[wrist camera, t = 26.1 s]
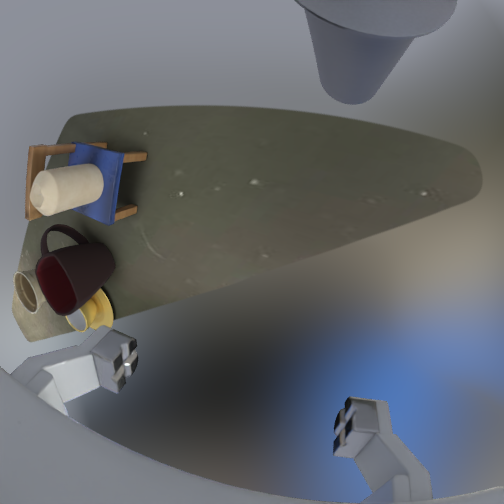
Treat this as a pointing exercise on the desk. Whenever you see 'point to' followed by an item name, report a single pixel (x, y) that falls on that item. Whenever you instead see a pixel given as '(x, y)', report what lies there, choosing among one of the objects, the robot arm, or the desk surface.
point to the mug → (72, 271)
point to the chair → (86, 154)
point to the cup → (92, 313)
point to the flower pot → (28, 290)
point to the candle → (66, 188)
